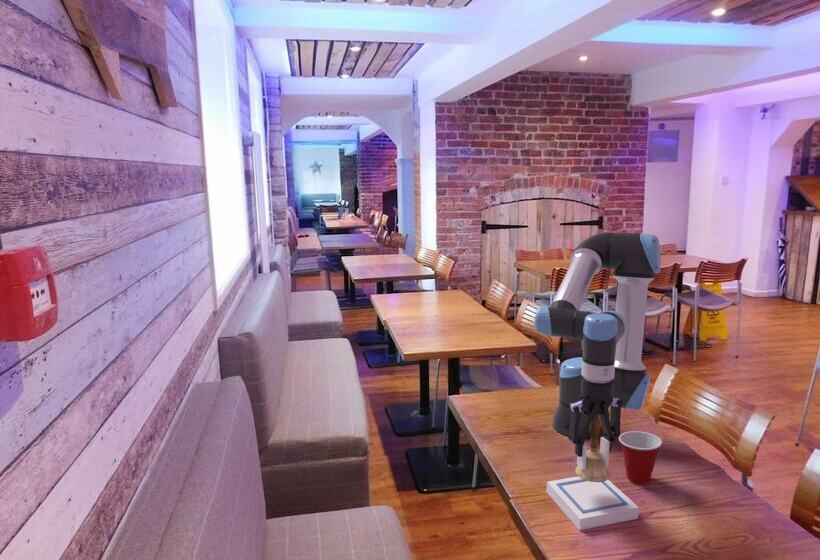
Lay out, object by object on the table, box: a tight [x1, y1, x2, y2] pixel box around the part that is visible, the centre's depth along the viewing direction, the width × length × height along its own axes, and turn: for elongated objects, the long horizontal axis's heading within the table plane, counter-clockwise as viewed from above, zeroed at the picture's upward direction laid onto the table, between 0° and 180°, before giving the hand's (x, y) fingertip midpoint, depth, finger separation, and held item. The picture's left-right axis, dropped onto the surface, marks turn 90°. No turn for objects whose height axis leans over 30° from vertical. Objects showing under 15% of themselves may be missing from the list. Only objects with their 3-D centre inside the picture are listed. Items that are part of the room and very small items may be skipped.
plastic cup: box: [618, 430, 663, 485], centre depth 146 cm, size 11×11×12 cm
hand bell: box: [574, 415, 611, 482], centre depth 133 cm, size 8×8×16 cm
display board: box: [546, 475, 640, 531], centre depth 136 cm, size 16×16×3 cm
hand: (592, 464), depth 134 cm, fingers closed on hand bell, 6 cm apart
